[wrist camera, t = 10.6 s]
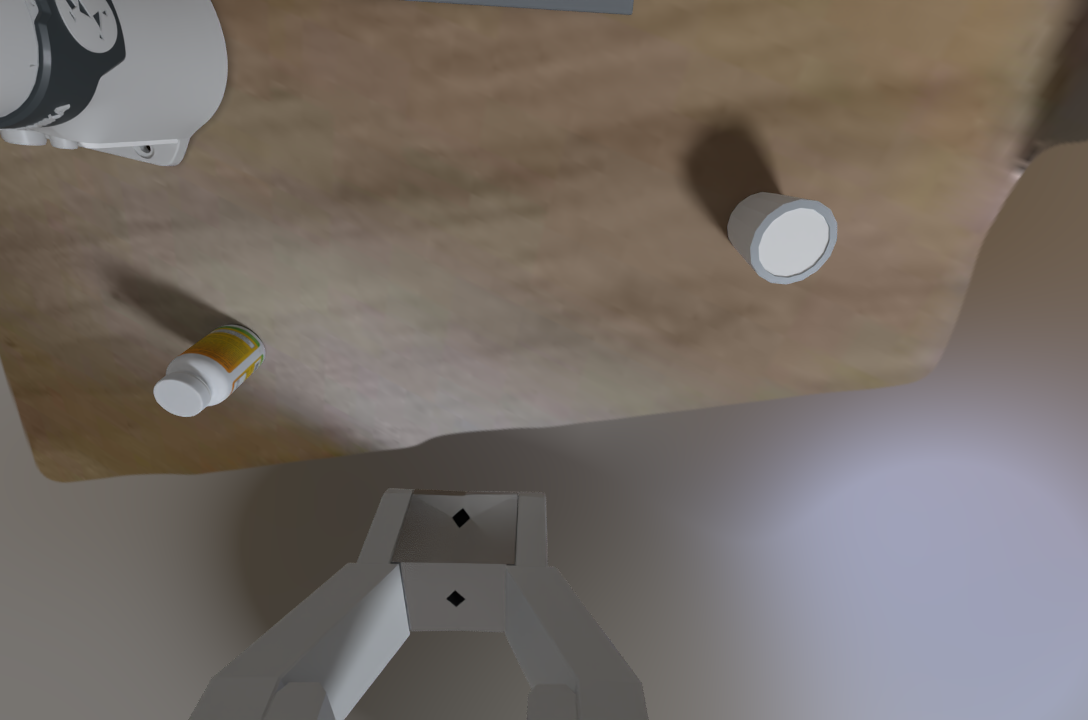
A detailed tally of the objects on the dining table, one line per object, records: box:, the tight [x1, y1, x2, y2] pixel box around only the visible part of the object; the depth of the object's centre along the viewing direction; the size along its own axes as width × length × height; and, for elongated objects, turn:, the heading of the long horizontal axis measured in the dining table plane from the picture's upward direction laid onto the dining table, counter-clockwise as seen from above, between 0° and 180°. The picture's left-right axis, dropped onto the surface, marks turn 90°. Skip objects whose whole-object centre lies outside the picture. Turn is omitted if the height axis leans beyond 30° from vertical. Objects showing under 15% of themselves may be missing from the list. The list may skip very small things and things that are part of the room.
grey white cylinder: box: [727, 192, 837, 284], centre depth 40 cm, size 7×7×7 cm
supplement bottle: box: [154, 325, 265, 417], centre depth 44 cm, size 5×5×10 cm
